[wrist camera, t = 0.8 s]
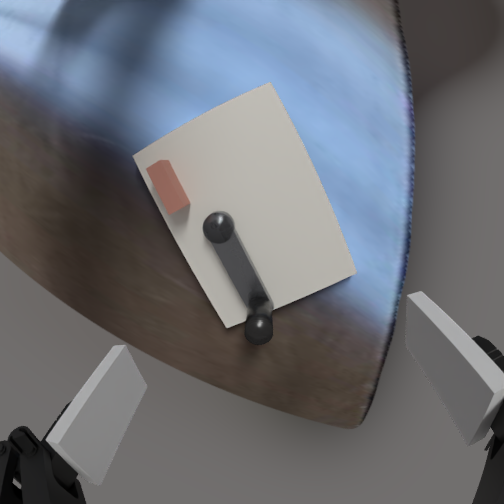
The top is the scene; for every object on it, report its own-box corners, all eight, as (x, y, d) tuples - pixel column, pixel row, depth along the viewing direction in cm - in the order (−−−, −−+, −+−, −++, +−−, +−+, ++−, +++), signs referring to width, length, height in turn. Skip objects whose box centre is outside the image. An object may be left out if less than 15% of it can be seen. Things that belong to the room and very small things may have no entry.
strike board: (139, 156, 34) (121, 155, 29) (270, 86, 31) (271, 74, 26) (228, 320, 40) (223, 340, 35) (352, 267, 37) (364, 282, 32)
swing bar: (199, 219, 34) (182, 233, 27) (226, 205, 33) (215, 217, 26) (252, 315, 37) (249, 349, 30) (277, 305, 37) (279, 337, 29)
